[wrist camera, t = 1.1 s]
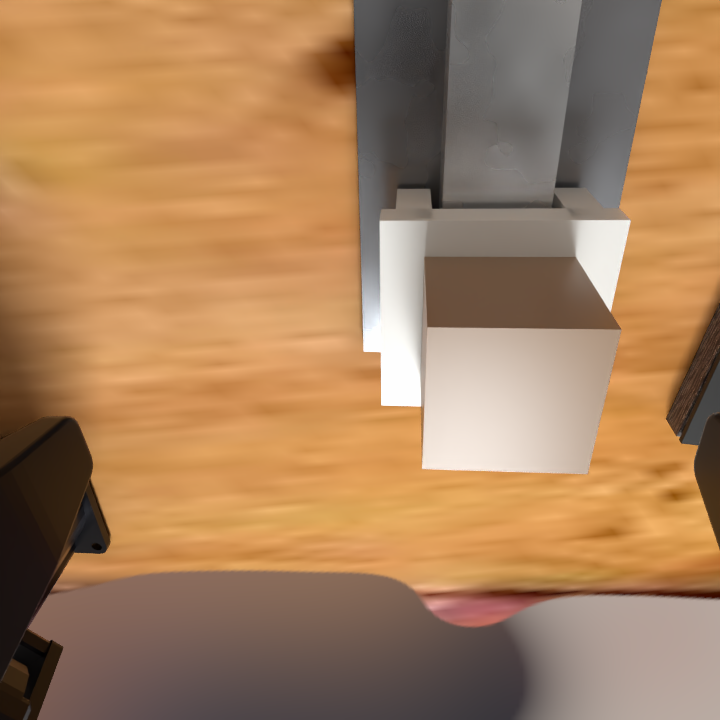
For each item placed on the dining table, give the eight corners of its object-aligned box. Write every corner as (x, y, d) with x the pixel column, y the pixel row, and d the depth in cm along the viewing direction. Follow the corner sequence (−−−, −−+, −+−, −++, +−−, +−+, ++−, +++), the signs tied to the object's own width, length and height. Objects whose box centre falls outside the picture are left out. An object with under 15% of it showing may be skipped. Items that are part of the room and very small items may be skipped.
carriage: (567, 359, 21) (629, 505, 15) (385, 356, 21) (374, 496, 15) (599, 187, 17) (694, 285, 12) (384, 189, 18) (370, 284, 12)
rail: (584, 346, 21) (603, 387, 19) (364, 343, 22) (359, 381, 20) (710, -281, 13) (770, -338, 11) (348, -256, 14) (335, -305, 11)
